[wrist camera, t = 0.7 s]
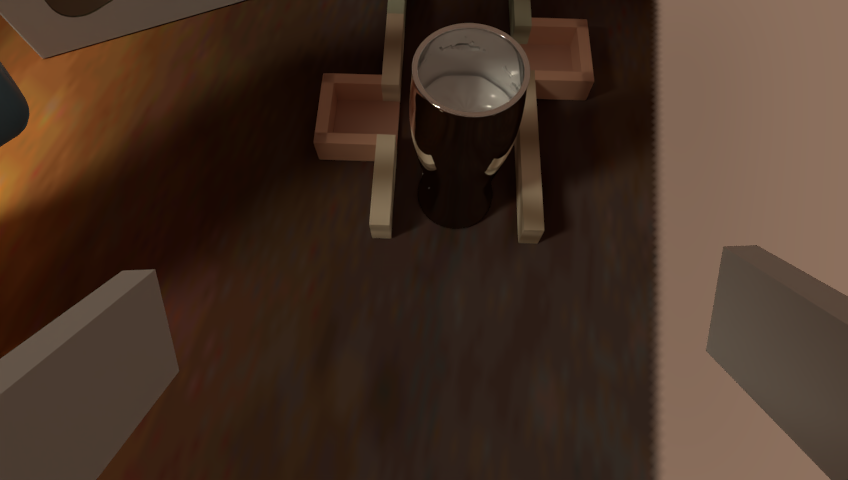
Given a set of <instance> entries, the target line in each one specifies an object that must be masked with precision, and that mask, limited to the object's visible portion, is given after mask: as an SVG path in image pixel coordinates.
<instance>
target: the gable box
mask: <svg viewBox="0 0 848 480" xmlns="http://www.w3.org/2000/svg"><path fill="white" fill-rule="evenodd" d="M241 1H244V0H0V15H1V16H2V17H3V18H4V19H5V20H6V21H7V22H8V23H9V24H10V25H11V26H12V27H13V28H14V29H15V30H16V31H17V32H18V34H19V35H20V36H21V37H22V38H23V39H24V40H25V41H26V42H27V43H28V44H29V45H30V46H31V47H32V48H33V49H34V50H35V51H36V53H37V54H38V55H39V56H40V57H42V58H48V57H51V56H54V55H58V54H61V53H65V52H68V51H72V50H75V49H79V48H82V47H86V46H89V45H92V44H96V43H99V42H103V41H106V40H110V39H113V38H117V37H120V36H123V35H127V34H130V33H134V32H137V31H141V30H144V29H148V28H151V27H155V26H158V25H161V24H165V23H168V22H172V21H175V20H179V19H182V18H186V17H189V16H193V15H196V14H199V13H203V12H206V11H210V10H213V9H217V8H220V7H224V6H227V5H231V4H234V3H237V2H241Z"/></svg>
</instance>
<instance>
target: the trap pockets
mask: <svg viewBox="0 0 848 480" xmlns="http://www.w3.org/2000/svg"><path fill="white" fill-rule="evenodd" d="M531 19H532V28H531V31H530V35H529V39H528V43H527V44H519V45H520V46H521V47H522V48H523V50H524V51H525V53H526V55H527V57H528V60H529V64H530V70H535V84H536V99H556V100H586V99H587V97H588V94H589V92H590V90H591V88H592V86H593V83H594V74H593V65H592V57H591V48H590V40H589V31H588V23H587V19H562V18H531ZM381 80H382V75H370V74H338V73H323V78H322V85H321V92H320V99H319V106H318V113H317V121H316V128H315V135H314V142H313V143H314V146H315V149H316V152H317V155H318V158H319V159H320V160H350V161H375V151H376V139H377V134H386V135H396V147H397V143H398V128H399V112H400V102H398V101H383V97H382V88H381Z"/></svg>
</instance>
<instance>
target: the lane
mask: <svg viewBox="0 0 848 480" xmlns="http://www.w3.org/2000/svg"><path fill="white" fill-rule="evenodd" d="M406 5H407V0H388V9H387V21H386V33H385V44H384V56H383V68H382V80H381V88H382V97H383V101H398V102H400V97H401V82H402V66H403V51H404V36H405V21H406ZM509 18H510V36H511V37H512V38H513V39H515V40H516V41H517V42H518V43H519V44H527V43H528V39H529V35H530V31H531V28H532V19H531V3H530V0H509ZM514 145H515V170H516V196H517V221H518V243H536V244H537V243H538V242H539V240H540V238H541V236H542V234H543V232H544V215H543V198H542V182H541V166H540V150H539V133H538V117H537V101H536V84H535V70H530V81H529V84H528V88H527V94H526V101H525V107H524V112H523V116H522V121H521V125H520V128H519V131H518V134H517V137H516V140H515V143H514ZM396 158H397V147H396V135H386V134H377V139H376V151H375V163H374V174H373V186H372V198H371V210H370V222H369V226H370V230H371V235H372V238H391V234H392V219H393V204H394V189H395V173H396Z"/></svg>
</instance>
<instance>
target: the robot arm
mask: <svg viewBox="0 0 848 480" xmlns="http://www.w3.org/2000/svg"><path fill="white" fill-rule="evenodd" d="M28 119H29V107H28V104H27V101H26V99H25V97H24V96H23V94H22V93H21V91H20V89H19V88H18V86H17V85H16V83H15V82H14V80H13V79H12V77H11V76H10V75H9V73H8V72H7V70H6V69H5V67H4V66H3V65H2V63H1V62H0V147H1V146H2V145H4V144H5V143H7V142H8V141H10V140H12V139H13V138H15V137H16V136H18V135H19V134H20V133H21V132H22V131H23V130H24V129H25V127H26V126H27V123H28ZM706 351H707V352H708V353H709V354H710V355H711V356H712V357H713V358H714V359H715V361H716V362H717V363H718V364H719V365H720V366H721V367H722V368H723V369H724V370H725V371H726V372H727V373H728V374H729V375H730V376H731V377H732V378H733V379H734V380H735V381H736V382H737V383H738V384H739V385H740V386H741V387H742V388H743V389H744V390H745V391H746V393H748V395H749V396H750V397H751V398H752V399H753V400H754V401H755V402H756V403H757V404H758V405H759V406H760V407H761V408H762V409H763V410H764V411H765V412H766V413H767V414H768V415H769V416H770V417H771V418H772V419H773V420H774V421H775V422H776V423H777V425H778V426H779V427H780V428H781V429H782V430H783V431H784V432H785V433H786V434H788V436H789V437H790V438H791V439H792V440H793V441H794V442H795V443H796V444H797V445H798V446H799V447H800V448H801V449H802V450H803V451H804V452H805V453H806V454H807V455H808V456H809V457H810V458H811V459H812V461H813V462H814V463H815V464H816V465H817V466H818V467H819V468H820V469H821V470H822V471H823V472H824V473H825V474H826V475H827V476H828V477H829V478H830V479H831V480H848V296H846V295H844V294H842V293H840V292H839V291H837V290H835V289H833V288H831V287H830V286H828V285H826V284H824V283H823V282H821V281H819V280H817V279H816V278H813V277H812V276H810V275H809V274H807V273H805V272H803V271H801V270H800V269H798V268H796V267H794V266H792V265H791V264H789V263H787V262H785V261H784V260H782V259H780V258H778V257H777V256H775V255H773V254H771V253H769V252H768V251H766V250H764V249H762V248H761V247H758V246H757V245H755V246H754V245H753V246H728V247H723V252H722V258H721V264H720V270H719V276H718V282H717V288H716V294H715V300H714V306H713V312H712V318H711V324H710V330H709V336H708V342H707V348H706ZM178 372H179V368H178V364H177V360H176V356H175V351H174V347H173V343H172V339H171V334H170V330H169V326H168V322H167V317H166V313H165V309H164V304H163V300H162V296H161V292H160V287H159V283H158V279H157V275H156V270H155V269H151V270H126V271H121V272H120V273H118V274H117V275H116V276H114V277H113V278H111V279H110V280H109V281H107V282H106V283H105V284H103V285H102V286H100V287H99V288H98V289H96V290H95V291H93V292H92V293H91V294H89V295H88V296H87V297H85V298H84V299H82V300H81V301H80V302H78V303H77V304H75V305H74V306H73V307H71V308H70V309H69V310H67V311H66V312H64V313H63V314H62V315H60V316H59V317H57V318H56V319H55V320H53V321H52V322H51V323H49V324H48V325H46V326H45V327H44V328H42V329H41V330H39V331H38V332H37V333H35V334H34V335H33V336H31V337H30V338H28V339H27V340H26V341H24V342H23V343H21V344H20V345H19V346H17V347H16V348H15V349H13V350H12V351H10V352H9V353H8V354H6V355H5V356H3V357H2V358H1V359H0V480H96V479H97V478H98V477H99V475H100V474H101V473H102V471H103V470H104V469H105V467H106V466H107V465H108V463H109V462H110V461H111V460H112V458H113V457H114V456H115V454H116V453H117V452H118V450H119V449H120V448H121V446H122V445H123V444H124V443H125V441H126V440H127V439H128V437H129V436H130V435H131V433H132V432H133V431H134V429H135V428H136V427H137V425H138V424H139V423H140V422H141V420H142V419H143V418H144V416H145V415H146V414H147V412H148V411H149V410H150V408H151V407H152V406H153V405H154V403H155V402H156V401H157V399H158V398H159V397H160V395H161V394H162V393H163V391H164V390H165V389H166V388H167V386H168V385H169V384H170V382H171V381H172V380H173V378H174V377H175V376H176V374H177V373H178Z"/></svg>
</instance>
